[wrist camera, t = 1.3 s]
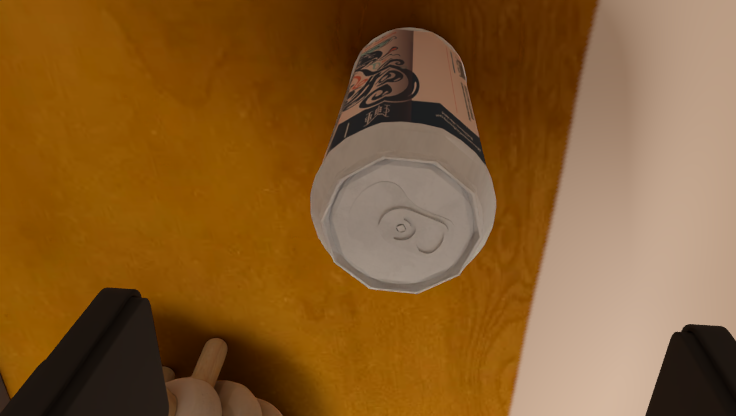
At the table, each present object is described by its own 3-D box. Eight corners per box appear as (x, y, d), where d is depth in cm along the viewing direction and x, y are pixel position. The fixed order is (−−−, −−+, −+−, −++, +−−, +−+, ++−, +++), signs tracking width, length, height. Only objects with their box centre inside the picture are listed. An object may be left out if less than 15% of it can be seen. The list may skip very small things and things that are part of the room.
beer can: (377, 4, 24) (345, 105, 13) (486, 52, 24) (538, 185, 14) (334, 111, 26) (278, 268, 15) (435, 152, 27) (446, 331, 16)
